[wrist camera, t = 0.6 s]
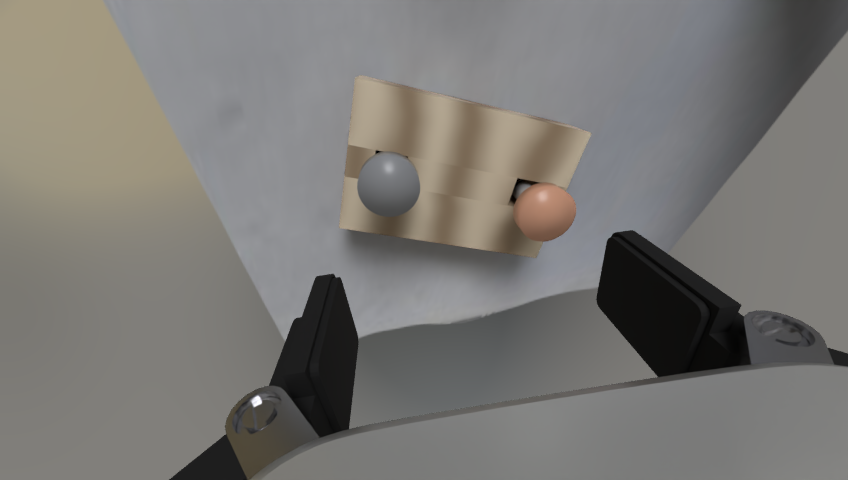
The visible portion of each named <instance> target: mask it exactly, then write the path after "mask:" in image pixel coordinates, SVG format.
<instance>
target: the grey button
mask: <svg viewBox="0 0 848 480" xmlns="http://www.w3.org/2000/svg"><path fill="white" fill-rule="evenodd" d="M357 191H358V195H359V198H360V200H361V202H362V203H363V204H364V206H365V207H366V208H367V209H369V210H370V211H371V212H373V213H375V214H377V215H380V216H384V217H394V216H399V215H402V214H404V213H406V212H407V211H409V210H410V209H411V208H412V207H413V206H414V205H415V203H416V202H417V200H418V197H419V194H420V181H419V177H418V173H417V170H416V168H415V166H414V164H413V163H412V162H411V161H410V160H409V159H408V158H407V157H406V156H404V155H402V154H400V153H397V152H391V151H385V152H380V153H377V154H375V155H373V156H371V157H370V158H369V159H368V160H367V161H366V162H365V163H364V164H363V166H362V168H361V171H360V174H359V178H358V182H357Z"/></svg>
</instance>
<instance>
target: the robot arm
mask: <svg viewBox="0 0 848 480" xmlns="http://www.w3.org/2000/svg"><path fill="white" fill-rule="evenodd" d="M597 304H598V306H599V308H600V309H601V310H602V312H604V314H605V315H606V316H607V317H608V318H609V320H610V321H611V322H612V323H613V324H614V326H615V327H616V328H617V329H618V330H619V331H620V333H621V334H622V335H623V336H624V337H625V339H626V340H627V341H628V342H629V343H630V344H631V346H632V347H633V348H634V349H635V350H636V351H637V353H638V354H639V355H640V356H641V357H642V358H643V360H644V361H645V362H646V363H647V364H648V365H649V367H650V368H651V369H652V370H653V371H654V372H655V374H656V375H657V376H658V377H657V378H650V379H644V380H637V381H631V382H624V383H618V384H611V385H605V386H598V387H592V388H586V389H580V390H573V391H566V392H560V393H554V394H548V395H541V396H535V397H529V398H522V399H516V400H510V401H504V402H497V403H492V404H485V405H479V406H473V407H467V408H461V409H455V410H449V411H443V412H436V413H430V414H425V415H419V416H413V417H408V418H402V419H397V420H391V421H386V422H380V423H375V424H369V425H365V426H361V427H356V428H352V429H349V422H350V414H351V405H352V396H353V386H354V378H355V369H356V360H357V351H358V335H357V331H356V328H355V324H354V321H353V317H352V314H351V311H350V307H349V304H348V300H347V297H346V294H345V290H344V287H343V283H342V280H341V278H340V277H338V278H336V277H335V275H334V274H329V275H322V276H317V277H316V278H315V281H314V283H313V286H312V289H311V292H310V295H309V298H308V301H307V304H306V307H305V309H304V312H303V315H302V317H300V318H296V319H295V320H294V321H293V323H292V326H291V328H290V331H289V334H288V336H287V339H286V342H285V344H284V347H283V350H282V352H281V355H280V358H279V360H278V363H277V366H276V368H275V371H274V374H273V376H272V379H271V382H270V384H269V386H265V387H262V388H258V389H256V390H254V391H252V392H250V393H249V394H247V395H246V396H244V397H243V398H242V399H241V400H240V401H238V403H237V404H236V405H235V406H234V407H233V408H232V410H231V411H230V413H229V415H228V417H227V420H226V425H225V430H226V435H224V436H223V437H222V438H221V439H219V440H218V441H217V442H216V443H214V444H213V445H212V446H211V447H209V448H208V449H207V450H206V451H204V452H203V453H202V454H201V455H200V456H198V457H197V458H196V459H194V460H193V461H192V462H191V463H189V464H188V465H187V466H186V467H184V468H183V469H182V470H181V471H179V472H178V473H177V474H176V475H175V476H173V477H172V478H171V479H169V480H848V354H847V353H844V352H841V351H837V350H834V349H830V348H827V346H826V343H825V341H824V339H823V338H822V336H821V335H820V334H819V333H818V332H817V331H816V330H815V329H813V328H812V327H811V326H809V325H807V324H805V323H804V322H802V321H800V320H797V319H795V318H793V317H790V316H787V315H784V314H781V313H777V312H770V311H753V312H749V313H748V314H746V315H745V316H742V315H741V314H739V313H738V311H739V309H740V307H741V304H739V303H738V302H736V301H735V300H733V299H732V298H731V297H729V296H727V295H726V294H725V293H723V292H722V291H720V290H719V289H718V288H716V287H715V286H713V285H712V284H710V283H709V282H707V281H706V280H705V279H703V278H702V277H700V276H699V275H697V274H696V273H694V272H693V271H692V270H690V269H689V268H687V267H686V266H684V265H683V264H681V263H680V262H678V261H677V260H675V259H674V258H672V257H671V256H670V255H668V254H667V253H665V252H664V251H663V250H661V249H660V248H658V247H657V246H655V245H654V244H652V243H651V242H650V241H648V240H647V239H645V238H644V237H642V236H641V235H639V234H638V233H637V232H635V231H633V230H630V231H623V232H616V233H614V234H613V235H612V236H611V238H609V239H608V240H607V244H606V250H605V255H604V261H603V266H602V271H601V277H600V282H599V287H598V293H597Z"/></svg>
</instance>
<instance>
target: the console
mask: <svg viewBox="0 0 848 480" xmlns="http://www.w3.org/2000/svg"><path fill="white" fill-rule="evenodd" d="M590 136H591V133H590V132H587V131H584V130H582V129H579V128H576V127H573V126H571V125H568V124H564V123H560V122H556V121H552V120H547V119H543V118H539V117H535V116H531V115H526V114H522V113H518V112H514V111H509V110H505V109H501V108H497V107H493V106H488V105H484V104H480V103H476V102H471V101H467V100H463V99H459V98H454V97H450V96H446V95H442V94H438V93H433V92H429V91H425V90H421V89H416V88H412V87H408V86H404V85H400V84H395V83H391V82H387V81H383V80H378V79H374V78H370V77H366V76H362V75H360V76H358V77H356V78H355V85H354V94H353V103H352V112H351V122H350V131H349V140H348V149H347V158H346V168H345V177H344V186H343V195H342V204H341V214H340V223H339V228H342V229H349V230H355V231H362V232H368V233H375V234H382V235H388V236H395V237H401V238H408V239H415V240H421V241H428V242H434V243H441V244H448V245H454V246H461V247H467V248H474V249H481V250H487V251H494V252H500V253H507V254H514V255H520V256H527V257H533V258H536V257H537V255H538V253H539V250H540V248H541V246H542V244H543V242H540V241H534V240H531V239H529V238H528V237H527V236H525V234H524V233H523V232H522V231H521V229H520V228H519V227H518V225H517V224H516V223H515V220H514V217H513V208H514V204H515V202H516V198H515V197H514V196H513V193H512V192H513V189H514V186H515V184H516V181H517V178H520V179H523V181H524V182H528V183H529V184H530V185H531V186H532V185H534V184H538V183H543V182H548V183H553V184H555V185H557V186H559V187H560V188H561V189H563V190H564V191H565V192H566V190H567V187H568V185H569V183H570V181H571V178H572V176H573V174H574V172H575V169H576V167H577V165H578V163H579V160H580V158H581V156H582V154H583V151H584V149H585V147H586V145H587V142H588V140H589V138H590ZM376 150H378V151H383V152H385V151H391V152H397V153H400V154H402V155H404V156H406V157H407V158H408V159H409V160H410V161H411V162H412V163H413V164H414V166H415V168H416V170H417V173H418V177H419V181H420V194H419V197H418V200H417V202H416V203H415V205H414V206H413V207H412V208H411V209H410V210H409V211H407V212H406V213H404V214H402V215H399V216H394V217H384V216H380V215H377V214H375V213H373V212H371V211H370V210H369V209H367V208H366V207H365V206H364V204H363V203H362V202H361V200H360V198H359V195H358V191H357V182H358V178H359V174H360V171H361V168H362V166H363V164H364V163H365V162H366V161H367V160H368V159H369V158H370V157H371V156H373V155H375V154H376ZM523 181H522V182H523Z"/></svg>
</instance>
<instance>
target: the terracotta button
mask: <svg viewBox="0 0 848 480" xmlns="http://www.w3.org/2000/svg"><path fill="white" fill-rule="evenodd" d="M512 193H513V196H514V197H515V198H516V202H515V204H514V208H513V217H514V220H515V223H516V224H517V225H518V227H519V228H520V229H521V231H522V232H523V233H524V234H525V236H527V237H528V238H529V239H531V240H534V241H540V242H543V241H549V240H553V239H555V238H557V237H559V236H561V235H562V234H563V233H565V232H566V231H567V230H568V228H569V227H570V226H571V224H572V223H573V221H574V218H575V215H576V205H575V202H574V200H573V198H572V197H571V196H570V195H569V194H568V193H567V192H565V191H564V190H563V189H561V188H560V187H559V186H557V185H555V184H553V183H548V182H543V183H538V184H534V185H532V186H531V185H530V184H529V183H528V182H524V181H523V182H519V183H517V184H516V185H515V186H514V189H513V192H512Z"/></svg>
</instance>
